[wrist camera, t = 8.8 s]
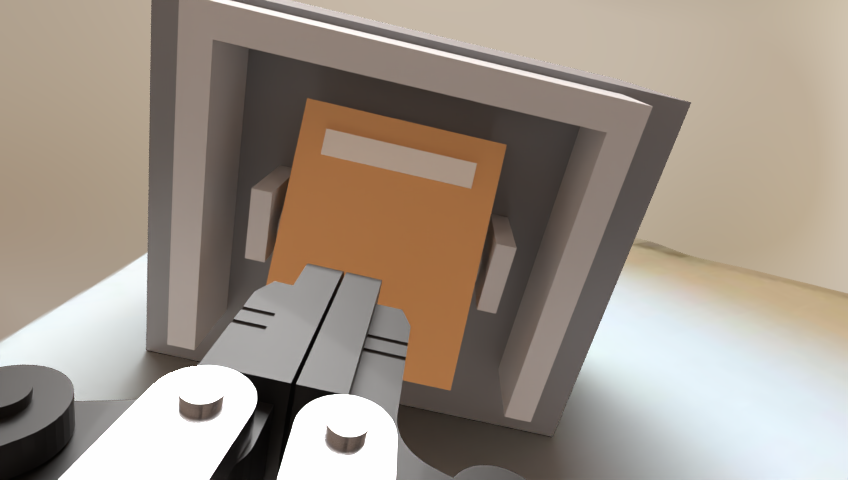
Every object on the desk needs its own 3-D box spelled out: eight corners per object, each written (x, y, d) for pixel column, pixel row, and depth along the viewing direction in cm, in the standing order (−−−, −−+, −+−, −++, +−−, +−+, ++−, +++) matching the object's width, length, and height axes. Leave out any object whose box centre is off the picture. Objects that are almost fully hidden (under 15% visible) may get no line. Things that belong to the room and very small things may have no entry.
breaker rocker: (449, 379, 22) (501, 151, 22) (453, 392, 21) (510, 144, 20) (261, 338, 22) (312, 106, 22) (248, 348, 20) (303, 96, 20)
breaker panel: (527, 334, 37) (618, 79, 30) (565, 490, 25) (734, 116, 18) (224, 267, 36) (246, -11, 29) (104, 393, 24) (94, -38, 17)
